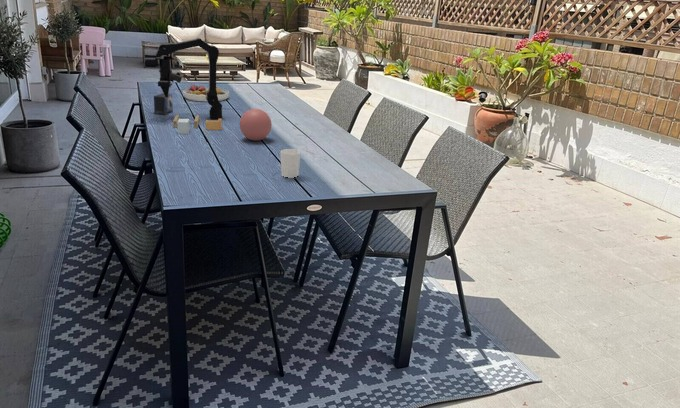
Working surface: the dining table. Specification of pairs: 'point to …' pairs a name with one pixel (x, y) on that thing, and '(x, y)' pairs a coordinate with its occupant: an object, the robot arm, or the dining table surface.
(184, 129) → the plug block
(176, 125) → the channel
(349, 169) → the dining table surface
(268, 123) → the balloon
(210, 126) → the bar
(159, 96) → the small box
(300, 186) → the dining table surface
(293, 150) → the white cup
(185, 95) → the bowl
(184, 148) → the dining table surface
